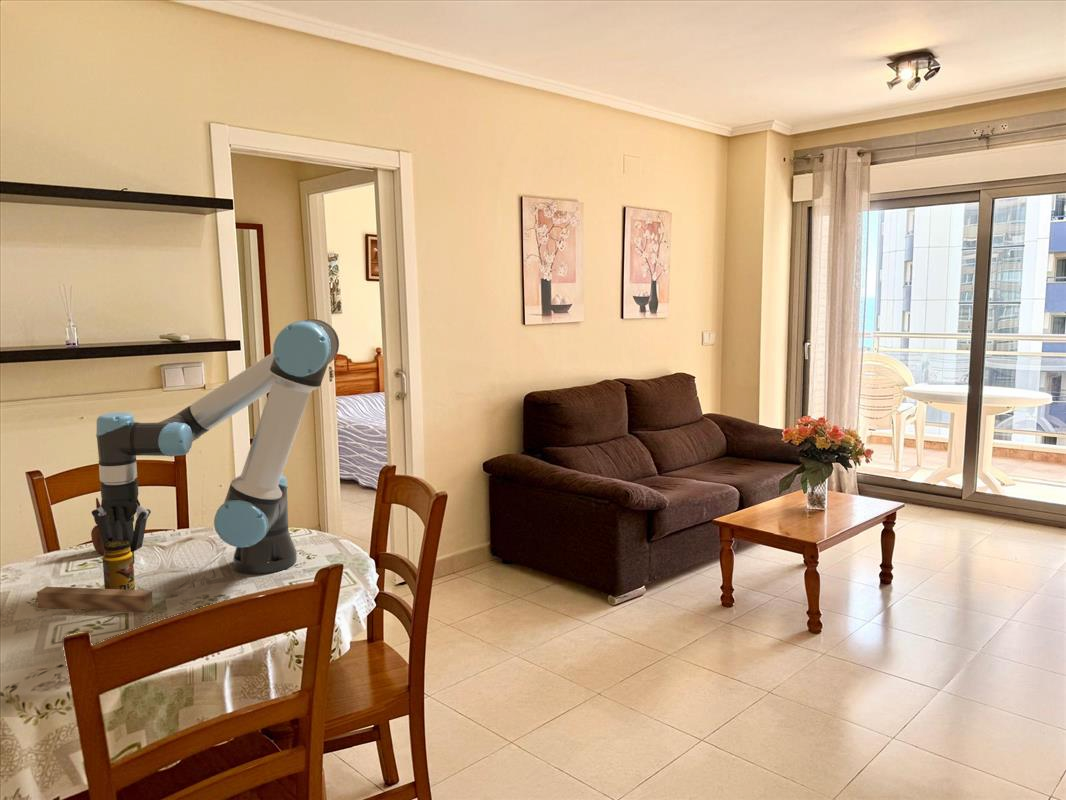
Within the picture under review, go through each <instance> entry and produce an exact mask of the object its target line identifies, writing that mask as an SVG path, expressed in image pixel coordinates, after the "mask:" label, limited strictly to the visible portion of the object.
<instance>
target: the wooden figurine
mask: <svg viewBox="0 0 1066 800" xmlns="http://www.w3.org/2000/svg"><path fill="white" fill-rule="evenodd" d="M102 501H103V499H102V498H101V503H102ZM101 503H100V501H99V498H98V497H96V498H95V506H96V508H95V509H97V508H99V507H101ZM107 516H108V515H107ZM108 519H109V516H108ZM93 520H94V523H95V524H96V525H95V526H93V528H92V529H91V532H90V535H91V536H90V537H91V543H92V545H93V548H94V550H95V551H96V552H97V554H103V555H104V543H103V540H102V537H101V534H100V530H99V527H98V524H97V521H96V519H95V518H94V517H93Z"/></svg>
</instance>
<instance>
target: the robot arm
mask: <svg viewBox="0 0 1066 800" xmlns="http://www.w3.org/2000/svg"><path fill="white" fill-rule="evenodd" d="M339 348H340V339H339V335H338V333H337V332H336V330H335V329H334V327H333V326H332V325H330V324H329V323H328V322H326V321H324V320H321V319H316V318H315V319H314V318H313V319H312V318H310V319H306V320H299V321H294V322H292V323H289V324H288V325H286V326H285V327H284V328H283V329H282V330H280V331H279V333H278V334H277V336H276V338H275V340H274V342H273V350H272V352H271V353H269V354H268V355H266V356H264V357H263V358H262V359H260V360H258V361H257V362H256V363H254V364H252V365H251V366H249V367H247V368H246V369H244V370H242V371H241V372H239V373H238V374H237V375H235V376H234V377H232V378H231V379H229V380H227V381H226V382H224V383H223V384H221V385H220V386H218V387H216V388H215V389H214V390H212V391H211V392H209V393H207V394H206V395H204V396H202V397H201V398H199V399H197V400H196V401H195V402H192V404H190V405H189V406H187V407H185V408H184V409H182V410H180V411H178V413H176V414H174V415H172V416H170V417H168V418H165V419H164V420H161V421H159V422H136V421H135V418H134V415H133V414H132V413H130V412H124V411H122V412H110V413H109V412H108V413H104V414H100V415H99V416H98V417H97V418H96V434H95V437H96V442H97V453H98V469H99V470H98V473H99V482H101V483H100V484H99V487H100V496H101V497H100V498H101V501H102V499H103V501H102V503H100V506H101V507H99V508H97V509H96V508H95V509H93V510H92V511H91V515H92V516H93V519H94V518H95V519H96V521H97V524H98V527H99V530H100V534H101V537H102V540H103V543H104V545H105V544H106V543H108V542H110V541H115V540H127V541H129V542H130V548H131V550H130V551H131V552H132V553H133V565H134V564H135V552H136V551H138V550H139V549H141V548H142V547H143V543H144V538H145V532H146V526H147V521H148V517H150V514H151V512H152V511H151V509H149V508H147V509H145V508H143V507H142V506H141V503H140V501H139V499H138V498H139V481H138V480H137V479H136V478H138V470H137V469H138V466H137V456H138V457H139V456H148V457H152V456H153V457H154V456H155V457H156V456H158V457H160V456H161V457H174V456H175V457H176V456H185V455H187V454H188V453H189V452H190V450H191V449H192V445H193V442H195V441H197V439H200V438H201V436H203V435H205V434H206V433H207V432H209V431H210V430H212V429H213V428H215V427H216V426H219V425H220V424H221V423H223V422H224V421H226V420H228V419H229V418H231V417H232V416H233V415H235V414H237V413H239V412H240V411H242V410H243V409H245V408H246V407H248V406H250V405H251V404H253V403H255V402H256V401H257V400H259V399H260V398H262V397H264V396H265V395H267V394H268V395H267V398H266V401H265V404H264V407H263V410H262V413H261V415H260V419H259V421H258V423H257V428H256V429H255V434H254V437H253V438H252V442H251V444H250V447H249V451H248V453H247V457H246V459H245V462H244V465H243V468H242V472H240V473H241V474H240V475H238V476H237V477H235V478H232V480H231V481H230V485H229V487H228V489H227V492H226V496H225V499H224V501H223V504H220V506H219V507H218V509H217V510H216V512H215V515H214V519H213V525H214V526H213V527H214V529H215V532H216V533H217V535H218V537H219V538H220V539H221V540H222V541H223V542H224V543H225V544H227V545H229V546H232V547H234V548H235V551H234V553H233V559H232V560H233V561H232V562H233V563H232V564H233V568H234V570H235V571H237V572H241V573H244V574H255V575H256V574H258V575H260V574H268V573H274V572H280V571H282V570H286V569H288V568H290V567H291V566H293V565H295V564H296V562H297V549H296V548H295V547H296V546H295V544H294V543H293V539H292V537H291V535H290V532H289V510H288V509H289V508H288V487H289V486H288V482H287V477H286V476H285V475H284V474H283V472H284V470H285V467H286V465H287V462H288V459H289V456H290V452H291V450H292V447H293V444H294V442H295V439H296V436H297V433H298V430H299V427H300V424H301V421H302V418H303V415H304V413H305V411H306V407H307V404H308V402H309V399H310V396H311V393H312V392H313V391H315V390H317V389H319V388H321V386H322V381H323V379H324V377H325V375H326V371H327V368H328V365H329V364H330V363H332V362H333V360H335V358H336V356H337V355H338V352H339ZM107 515H108V516H109V519H108V516H107ZM135 517H136V520H135ZM134 521H135V524H134ZM97 524H96V525H97Z"/></svg>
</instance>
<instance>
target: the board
mask: <svg viewBox="0 0 1066 800" xmlns="http://www.w3.org/2000/svg"><path fill="white" fill-rule="evenodd" d="M36 597H37V598H36V599H37V608H49V609H67V610H68V609H69V610H71V609H74V610H91V611H92V610H93V611H94V610H96V611H99V610H100V611H120V612H121V611H122V612H123V611H124V612H145V613H146V612H147V611H149V610H150V609H151V608H152V607H153V606H154V601H153V598H154V597H153V590H145V589H141V590H140V589H137V590H122V589H105V588H91V587H88V588H87V587H84V588H83V587H67V586H66V587H65V586H44V587H43V588H42V589H40V590H38V591H36Z"/></svg>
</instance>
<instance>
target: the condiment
mask: <svg viewBox="0 0 1066 800" xmlns="http://www.w3.org/2000/svg"><path fill="white" fill-rule="evenodd" d="M130 550H131V548H130V542H129V541H127V540H115V541H110V542H108V543H106V544H105V545H104V554H103V556H102V571H103V583H104V585H103V586H104V589H122V590H138V588H137V585H136V583H135V569H134V564H133V553H132V552H131V551H130Z"/></svg>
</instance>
